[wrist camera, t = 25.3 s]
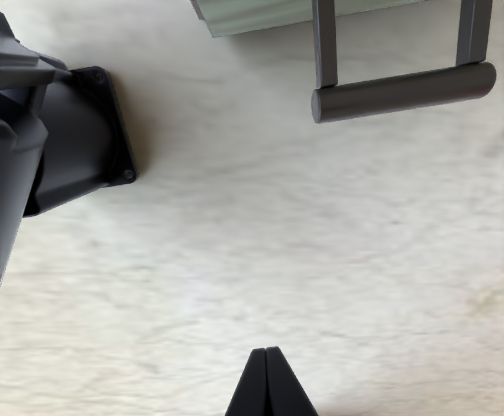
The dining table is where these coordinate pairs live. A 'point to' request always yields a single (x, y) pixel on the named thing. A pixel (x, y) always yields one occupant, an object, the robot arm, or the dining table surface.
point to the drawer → (373, 91)
